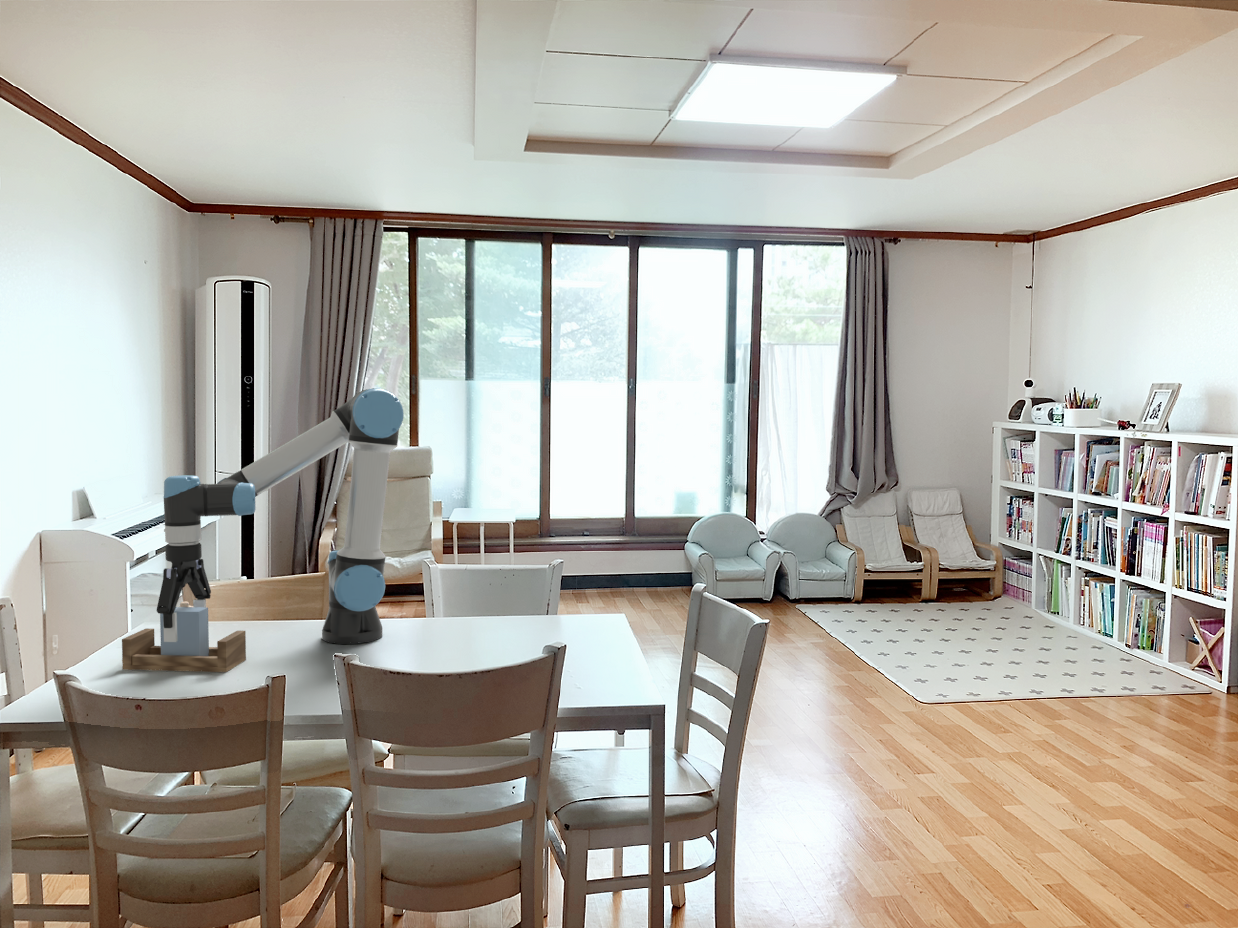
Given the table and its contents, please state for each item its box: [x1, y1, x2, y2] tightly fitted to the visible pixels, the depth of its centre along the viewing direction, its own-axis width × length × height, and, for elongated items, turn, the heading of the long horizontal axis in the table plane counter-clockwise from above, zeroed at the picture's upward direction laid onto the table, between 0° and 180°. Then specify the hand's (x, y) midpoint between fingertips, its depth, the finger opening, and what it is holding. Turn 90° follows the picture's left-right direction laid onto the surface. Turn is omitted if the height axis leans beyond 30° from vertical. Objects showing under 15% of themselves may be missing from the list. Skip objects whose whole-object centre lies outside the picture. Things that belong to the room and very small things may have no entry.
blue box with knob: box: [159, 606, 210, 656], centre depth 215 cm, size 9×6×12 cm, turn 88°
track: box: [121, 628, 247, 673], centre depth 216 cm, size 24×10×7 cm, turn 88°
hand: (185, 634), depth 216 cm, fingers open, 13 cm apart
